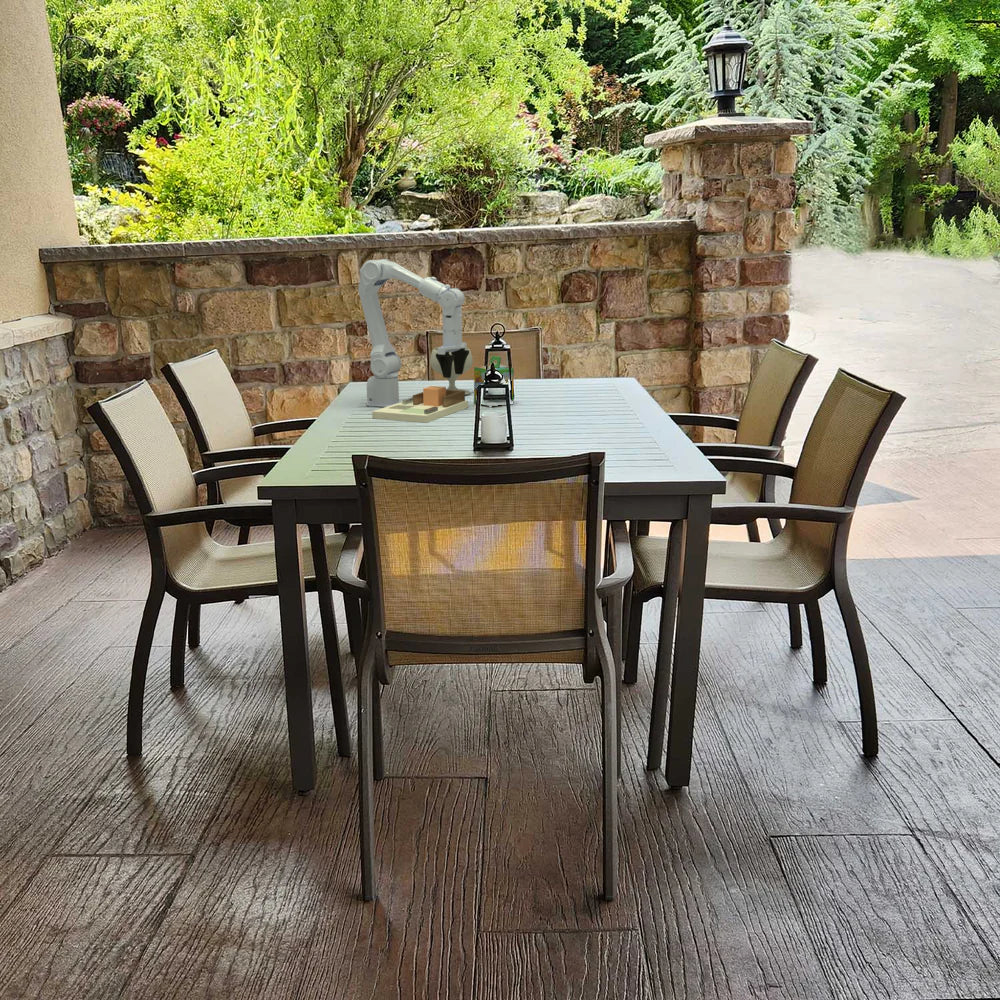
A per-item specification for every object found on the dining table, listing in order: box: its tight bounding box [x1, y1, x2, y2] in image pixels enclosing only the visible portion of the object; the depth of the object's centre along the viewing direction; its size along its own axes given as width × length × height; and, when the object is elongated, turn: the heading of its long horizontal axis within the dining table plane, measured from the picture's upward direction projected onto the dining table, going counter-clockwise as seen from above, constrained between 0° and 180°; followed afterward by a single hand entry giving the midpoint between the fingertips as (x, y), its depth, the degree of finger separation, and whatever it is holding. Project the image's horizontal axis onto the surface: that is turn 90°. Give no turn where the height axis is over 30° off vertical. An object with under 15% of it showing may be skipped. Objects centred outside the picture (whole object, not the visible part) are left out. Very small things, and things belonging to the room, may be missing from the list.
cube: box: [422, 385, 447, 406], centre depth 300 cm, size 5×5×5 cm
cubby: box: [412, 390, 466, 408], centre depth 303 cm, size 11×12×3 cm
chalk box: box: [473, 355, 515, 405], centre depth 310 cm, size 9×9×15 cm
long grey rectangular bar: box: [401, 396, 413, 405], centre depth 305 cm, size 3×9×1 cm, turn 155°
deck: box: [371, 400, 469, 424], centre depth 299 cm, size 18×26×2 cm
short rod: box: [424, 406, 438, 414], centre depth 288 cm, size 1×6×1 cm, turn 155°
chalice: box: [429, 346, 474, 396], centre depth 329 cm, size 14×14×15 cm
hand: (453, 375), depth 302 cm, fingers open, 7 cm apart
